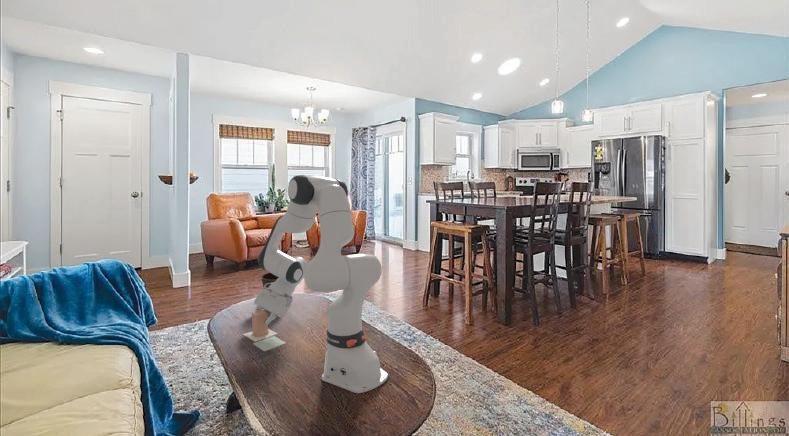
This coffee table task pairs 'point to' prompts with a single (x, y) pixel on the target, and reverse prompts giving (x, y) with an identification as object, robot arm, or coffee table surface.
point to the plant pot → (268, 278)
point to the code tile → (255, 338)
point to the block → (259, 323)
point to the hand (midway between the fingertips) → (259, 320)
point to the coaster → (269, 343)
